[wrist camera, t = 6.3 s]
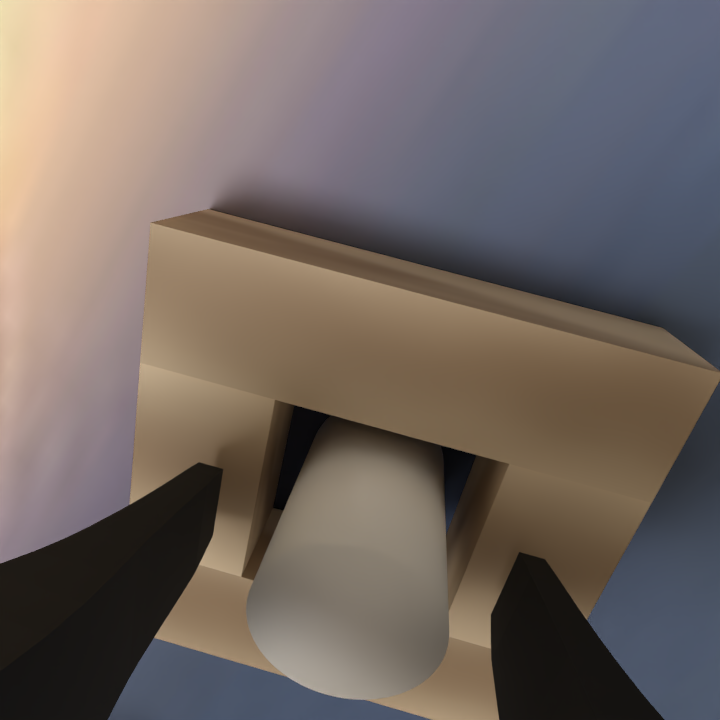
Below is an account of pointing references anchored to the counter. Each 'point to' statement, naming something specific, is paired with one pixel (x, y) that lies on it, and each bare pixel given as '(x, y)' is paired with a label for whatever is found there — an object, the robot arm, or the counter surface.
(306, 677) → the peg
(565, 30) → the counter surface
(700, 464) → the counter surface
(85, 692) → the robot arm
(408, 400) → the socket block
